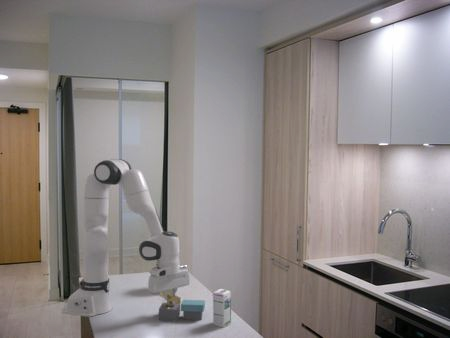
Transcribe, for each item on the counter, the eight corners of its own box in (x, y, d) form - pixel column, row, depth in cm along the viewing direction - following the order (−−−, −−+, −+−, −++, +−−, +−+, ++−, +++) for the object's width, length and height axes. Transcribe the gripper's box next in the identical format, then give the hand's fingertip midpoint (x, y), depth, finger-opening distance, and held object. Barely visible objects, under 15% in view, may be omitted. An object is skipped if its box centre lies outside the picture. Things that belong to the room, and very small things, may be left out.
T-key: (159, 313, 209) (159, 290, 208) (163, 312, 210) (162, 289, 210) (176, 322, 198) (176, 298, 198) (180, 321, 200) (180, 297, 199)
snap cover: (180, 311, 201) (180, 304, 201) (183, 306, 207) (183, 299, 207) (203, 311, 200) (203, 305, 200) (204, 306, 206) (204, 300, 206)
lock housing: (159, 320, 201) (159, 308, 200) (162, 313, 209) (162, 302, 208) (200, 321, 199) (200, 310, 199) (202, 314, 207) (203, 303, 207)
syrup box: (224, 327, 193) (224, 294, 192) (212, 324, 196) (212, 291, 195) (231, 323, 197) (231, 290, 197) (219, 320, 200) (219, 288, 200)
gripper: (184, 263, 212) (184, 292, 213) (146, 270, 199) (146, 301, 200) (192, 265, 207) (192, 295, 208) (154, 273, 194) (154, 305, 195)
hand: (169, 298), depth 204 cm, fingers closed on T-key, 2 cm apart
